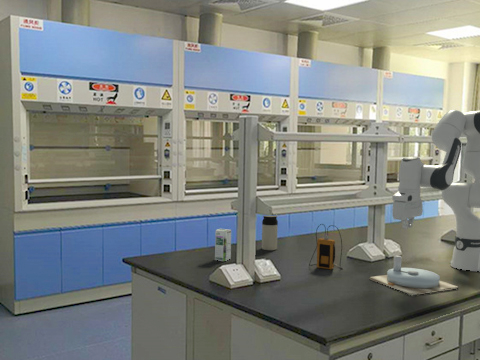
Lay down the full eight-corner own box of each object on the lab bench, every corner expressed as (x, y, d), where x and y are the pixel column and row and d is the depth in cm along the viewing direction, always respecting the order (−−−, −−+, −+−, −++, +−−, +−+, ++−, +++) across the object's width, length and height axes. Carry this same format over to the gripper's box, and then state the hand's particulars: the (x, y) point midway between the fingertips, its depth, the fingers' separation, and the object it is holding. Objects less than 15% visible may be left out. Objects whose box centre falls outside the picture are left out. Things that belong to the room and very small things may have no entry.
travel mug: (273, 251, 258) (274, 216, 257) (259, 249, 262) (260, 215, 260) (279, 248, 265) (280, 214, 264) (265, 246, 269) (266, 213, 267)
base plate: (413, 273, 220) (413, 270, 220) (458, 289, 199) (458, 285, 199) (369, 279, 210) (369, 275, 210) (411, 296, 189) (412, 292, 188)
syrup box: (214, 260, 237) (214, 229, 236) (220, 257, 242) (221, 228, 241) (225, 262, 234) (225, 231, 233) (231, 259, 240) (231, 229, 238)
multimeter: (347, 266, 231) (348, 223, 229) (339, 271, 222) (341, 226, 220) (316, 262, 238) (318, 220, 236) (308, 266, 230) (310, 222, 228)
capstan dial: (447, 281, 205) (448, 260, 204) (425, 291, 190) (426, 268, 190) (401, 271, 219) (402, 251, 218) (377, 280, 204) (378, 258, 204)
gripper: (413, 193, 221) (411, 224, 222) (390, 196, 207) (388, 229, 208) (427, 194, 217) (425, 226, 218) (404, 198, 202) (403, 232, 203)
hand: (407, 228), depth 213 cm, fingers open, 3 cm apart
